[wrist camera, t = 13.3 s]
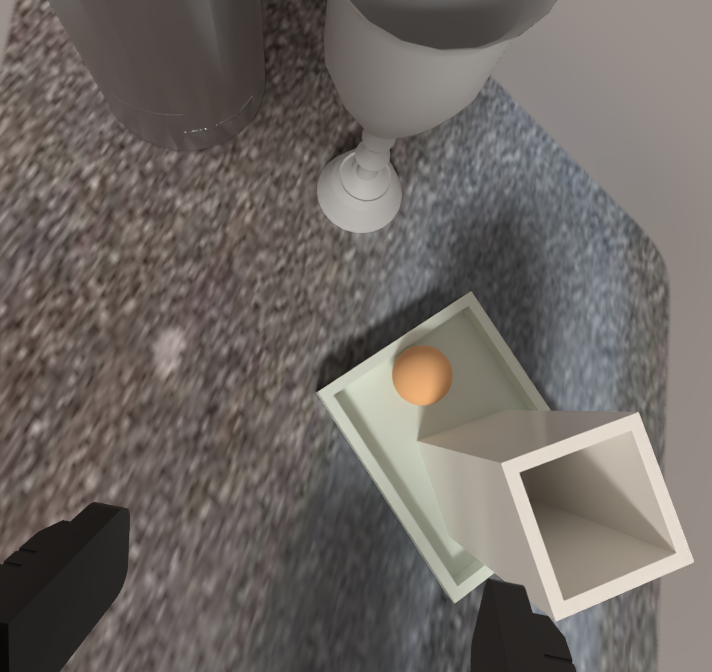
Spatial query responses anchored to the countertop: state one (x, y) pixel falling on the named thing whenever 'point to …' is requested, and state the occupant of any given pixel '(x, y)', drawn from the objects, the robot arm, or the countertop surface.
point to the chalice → (405, 85)
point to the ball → (422, 375)
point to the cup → (558, 503)
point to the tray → (429, 424)
